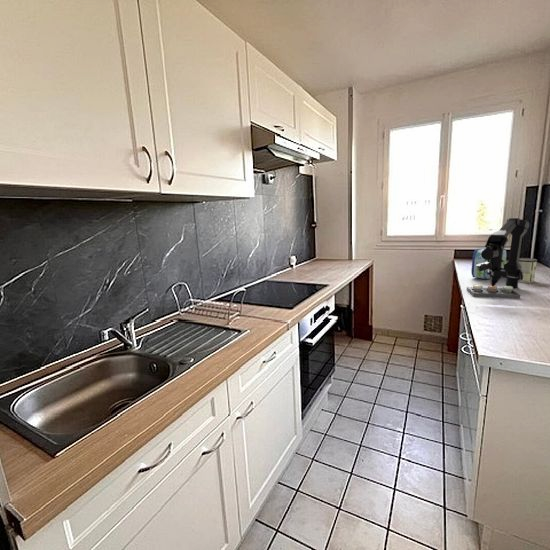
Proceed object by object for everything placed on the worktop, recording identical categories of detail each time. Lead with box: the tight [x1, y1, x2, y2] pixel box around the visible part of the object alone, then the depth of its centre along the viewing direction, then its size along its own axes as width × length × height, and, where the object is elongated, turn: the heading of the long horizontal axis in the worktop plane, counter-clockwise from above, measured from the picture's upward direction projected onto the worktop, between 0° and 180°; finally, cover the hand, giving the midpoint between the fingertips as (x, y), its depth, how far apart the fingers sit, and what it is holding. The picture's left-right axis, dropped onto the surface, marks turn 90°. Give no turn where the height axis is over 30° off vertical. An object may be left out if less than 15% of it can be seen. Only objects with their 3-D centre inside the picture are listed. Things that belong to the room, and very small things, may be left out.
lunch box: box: [471, 247, 508, 280], centre depth 210 cm, size 26×11×21 cm, turn 118°
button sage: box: [502, 285, 514, 292], centre depth 166 cm, size 4×4×3 cm
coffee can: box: [518, 257, 538, 283], centre depth 198 cm, size 10×10×14 cm
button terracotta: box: [487, 284, 499, 292], centre depth 168 cm, size 4×4×3 cm
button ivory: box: [472, 284, 483, 291], centre depth 170 cm, size 4×4×3 cm
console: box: [466, 286, 522, 300], centre depth 168 cm, size 14×21×3 cm, turn 72°
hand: (492, 286), depth 168 cm, fingers closed
